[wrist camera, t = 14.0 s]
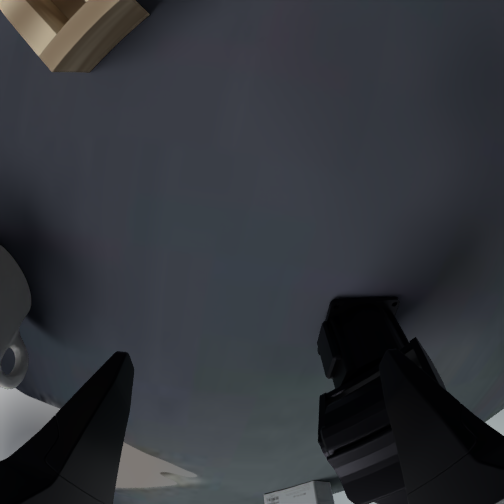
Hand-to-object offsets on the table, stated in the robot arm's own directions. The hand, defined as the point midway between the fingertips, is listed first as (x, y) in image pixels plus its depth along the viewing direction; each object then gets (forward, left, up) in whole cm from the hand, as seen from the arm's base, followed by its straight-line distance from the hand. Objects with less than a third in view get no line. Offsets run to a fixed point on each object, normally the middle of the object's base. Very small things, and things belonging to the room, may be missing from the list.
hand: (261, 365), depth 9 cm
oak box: (+11, -15, -12) cm, 23 cm away
